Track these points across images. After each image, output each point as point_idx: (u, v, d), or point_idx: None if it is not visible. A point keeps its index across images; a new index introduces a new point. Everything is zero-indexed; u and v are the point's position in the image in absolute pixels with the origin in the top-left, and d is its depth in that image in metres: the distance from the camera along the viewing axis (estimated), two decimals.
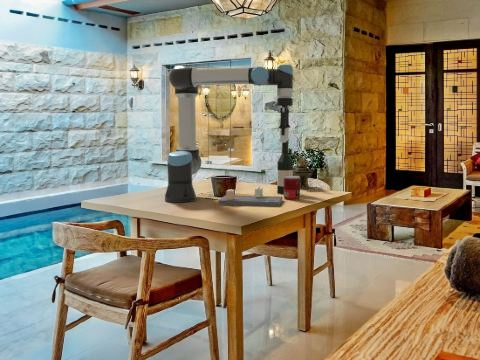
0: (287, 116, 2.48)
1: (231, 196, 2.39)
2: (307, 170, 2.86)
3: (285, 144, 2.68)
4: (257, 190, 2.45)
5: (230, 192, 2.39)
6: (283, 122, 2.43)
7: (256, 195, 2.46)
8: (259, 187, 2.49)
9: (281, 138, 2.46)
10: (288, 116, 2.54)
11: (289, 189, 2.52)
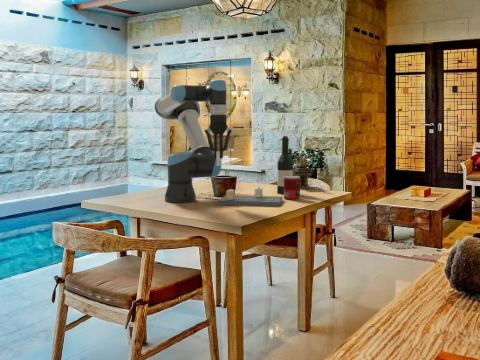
0: (214, 136, 2.37)
1: (231, 196, 2.39)
2: (307, 170, 2.85)
3: (285, 144, 2.68)
4: (257, 190, 2.45)
5: (230, 192, 2.39)
6: None
7: (256, 195, 2.46)
8: (259, 187, 2.49)
9: None
10: (219, 135, 2.37)
11: (289, 189, 2.52)
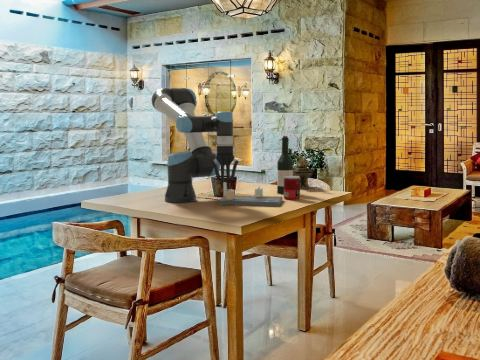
0: (221, 167, 2.38)
1: (231, 196, 2.39)
2: (307, 170, 2.86)
3: (285, 144, 2.68)
4: (257, 190, 2.45)
5: (230, 192, 2.39)
6: None
7: (256, 195, 2.46)
8: (259, 187, 2.49)
9: None
10: (226, 165, 2.38)
11: (289, 189, 2.52)
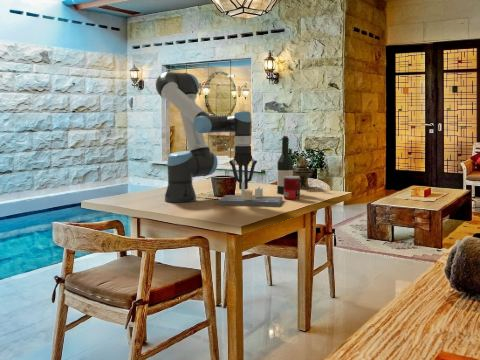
0: (239, 167, 2.37)
1: (249, 196, 2.37)
2: (307, 170, 2.85)
3: (285, 144, 2.68)
4: (257, 190, 2.45)
5: (248, 192, 2.37)
6: None
7: (256, 195, 2.46)
8: (259, 187, 2.49)
9: None
10: (244, 166, 2.37)
11: (289, 189, 2.52)
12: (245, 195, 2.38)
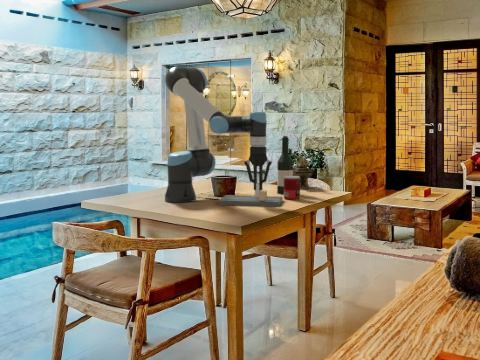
0: (254, 167, 2.36)
1: (264, 197, 2.36)
2: (307, 170, 2.85)
3: (285, 144, 2.68)
4: None
5: (263, 193, 2.36)
6: None
7: None
8: None
9: None
10: (259, 166, 2.36)
11: (289, 189, 2.52)
12: (260, 195, 2.36)
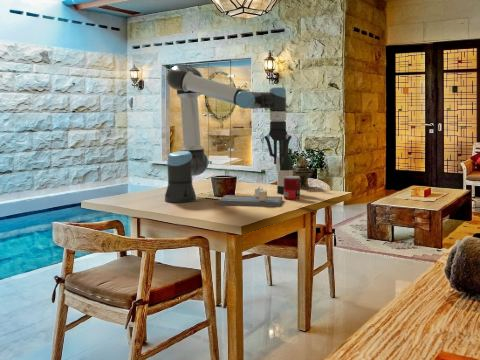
0: (274, 142, 2.42)
1: (264, 197, 2.36)
2: (307, 170, 2.85)
3: (285, 144, 2.68)
4: (257, 190, 2.45)
5: (263, 193, 2.36)
6: (269, 151, 2.44)
7: (256, 195, 2.46)
8: (259, 187, 2.49)
9: None
10: (279, 141, 2.42)
11: (289, 189, 2.52)
12: (260, 195, 2.36)
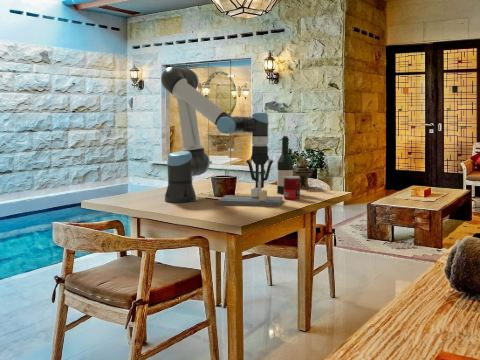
0: (256, 166, 2.45)
1: (264, 197, 2.36)
2: (307, 170, 2.85)
3: (285, 144, 2.68)
4: (253, 190, 2.46)
5: (263, 193, 2.36)
6: None
7: (252, 195, 2.46)
8: (255, 187, 2.49)
9: None
10: None
11: (289, 189, 2.52)
12: (260, 195, 2.36)
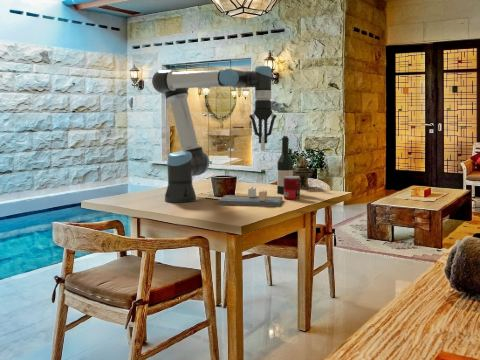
0: (259, 121, 2.42)
1: (264, 197, 2.36)
2: (307, 170, 2.85)
3: (285, 144, 2.68)
4: (250, 190, 2.46)
5: (263, 193, 2.36)
6: (254, 130, 2.44)
7: (249, 195, 2.46)
8: (252, 187, 2.49)
9: None
10: (264, 120, 2.42)
11: (289, 189, 2.52)
12: (260, 195, 2.36)
